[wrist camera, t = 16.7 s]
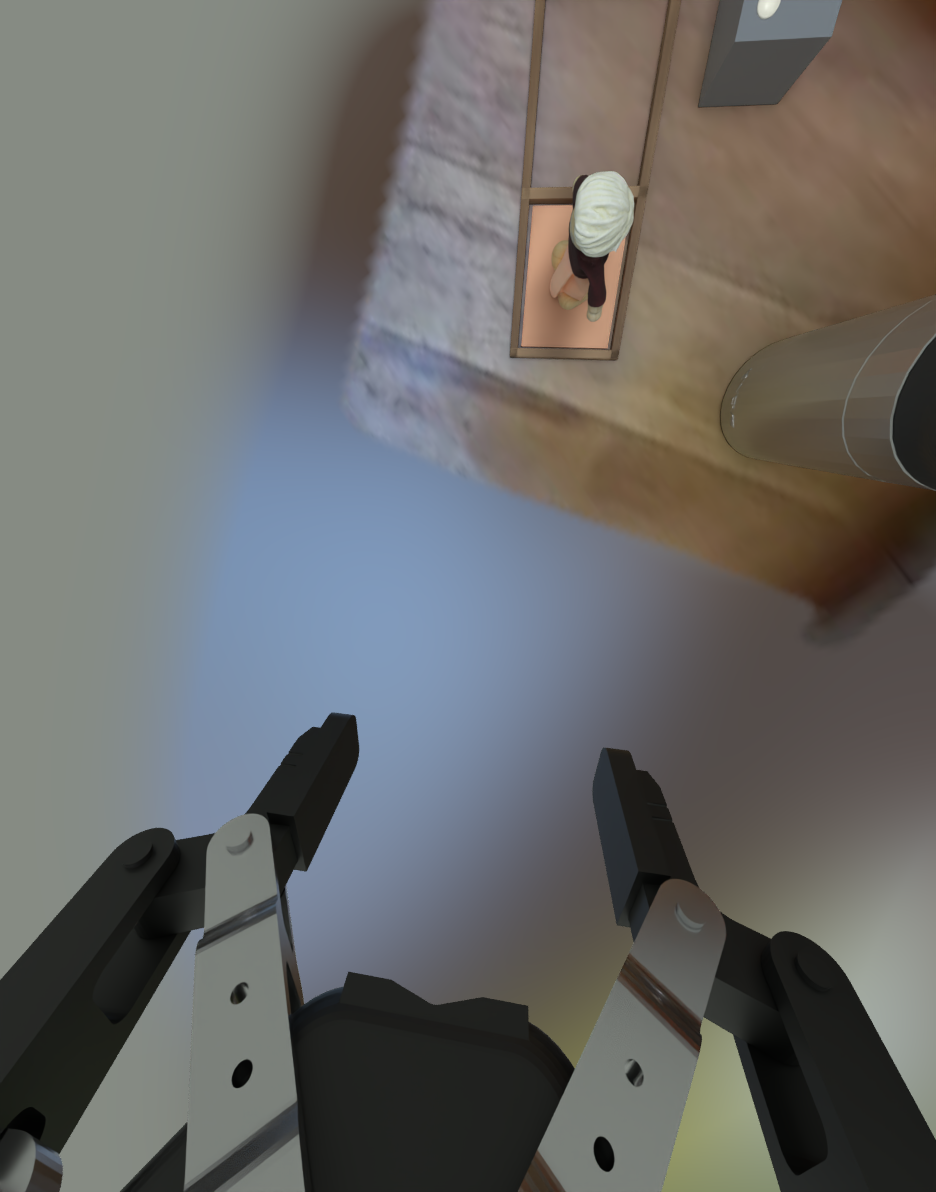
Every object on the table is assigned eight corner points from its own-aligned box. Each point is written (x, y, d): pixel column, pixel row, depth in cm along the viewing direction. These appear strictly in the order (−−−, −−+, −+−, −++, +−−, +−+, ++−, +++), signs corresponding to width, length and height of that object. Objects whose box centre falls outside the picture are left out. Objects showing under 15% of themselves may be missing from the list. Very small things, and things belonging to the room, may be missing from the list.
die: (808, -15, 23) (879, -123, 19) (776, 103, 25) (833, 33, 21) (721, -10, 24) (769, -113, 19) (698, 107, 26) (736, 39, 21)
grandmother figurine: (532, 243, 30) (537, 134, 18) (579, 211, 29) (617, 75, 17) (566, 346, 32) (590, 307, 21) (611, 321, 31) (663, 265, 20)
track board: (738, -343, 19) (746, -372, 19) (615, 360, 32) (617, 358, 32) (559, -316, 20) (560, -343, 20) (510, 357, 33) (509, 356, 33)
